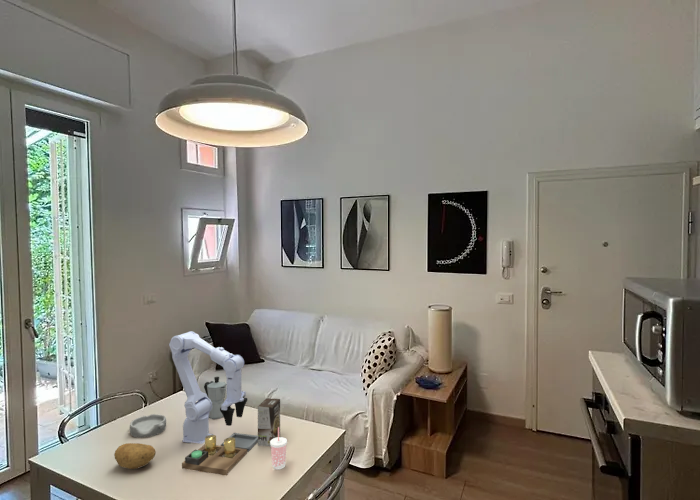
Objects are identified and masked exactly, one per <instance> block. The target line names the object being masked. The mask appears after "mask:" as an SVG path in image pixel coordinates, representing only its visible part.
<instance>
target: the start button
mask: <svg viewBox="0 0 700 500" xmlns="http://www.w3.org/2000/svg"><path fill="white" fill-rule="evenodd" d="M196 450H197V451H194V450H193V451H194V452H193V451H191V452H192V454H191V458H200V457H201V456H202V451H200V450H198V449H196Z"/></svg>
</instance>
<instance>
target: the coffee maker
mask: <svg viewBox="0 0 700 500" xmlns="http://www.w3.org/2000/svg"><path fill="white" fill-rule="evenodd" d="M213 380H214V381H213ZM213 380H211V381H210V382H209V381H206V382H205V383H204V385H203V389H204V391H205V392H204V393H206V394H207V397H208V398H209V399H210V400H211V402H212V409H211V411H210V412H209V419H210V420H218V419H222V418H224V417H223V414H222V413H221V411H220V408H221V405H222V404H223V403H224V401H225V399H226V394H227V382H225V381H220V376H214V377H213ZM224 398H225V399H224Z"/></svg>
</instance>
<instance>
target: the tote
mask: <svg viewBox="0 0 700 500" xmlns="http://www.w3.org/2000/svg"><path fill="white" fill-rule="evenodd" d="M230 437H233V438H235V448H241V449H247V453H249V451H251V450H252V448H254V447H255V445H257V444H258V435H254V434H247V433H239V432H233V433H232V434H231V435H230V436H229V437H228V438H230ZM220 446H224V441H223V442H222V443H221V444H220Z"/></svg>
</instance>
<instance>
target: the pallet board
mask: <svg viewBox="0 0 700 500" xmlns="http://www.w3.org/2000/svg"><path fill="white" fill-rule="evenodd" d="M197 450H200V451H202V456H201V457H200V458H191V454H192V452H194V451H197ZM247 453H248V452H247V449H241V448H235V456H234V457H233V458H226V457H224V446H221V445H219V444H216V453H215V454H214V455H213V456H212V455H208V451H205V443H203V445H202V446H201V447H200V448H198V449H194V450H193V451H191V452H190V453H189V454H188V455H186V456H185V458H184V461H183V462H181V469H182V470H188V471H195V472H202V473H208V474H212V475H214V474H215V475H220V476H225V477H227V476H228V475H229V473H230V471H231V470H232V469H233V468H234V467H235V466H236V465H237V464H238V463H239V462H240V461H241V460H242V459H243V458H244V457H245V456H246V455H247Z"/></svg>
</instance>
